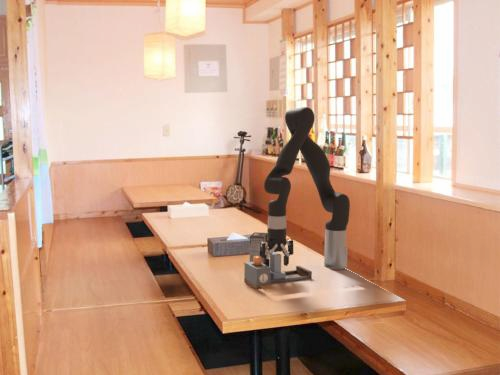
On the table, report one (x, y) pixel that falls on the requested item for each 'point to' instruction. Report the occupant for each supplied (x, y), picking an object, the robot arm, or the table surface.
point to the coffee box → (257, 244)
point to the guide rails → (289, 278)
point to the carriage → (276, 267)
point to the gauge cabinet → (257, 273)
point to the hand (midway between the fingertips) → (276, 266)
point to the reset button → (257, 260)
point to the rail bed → (288, 276)
